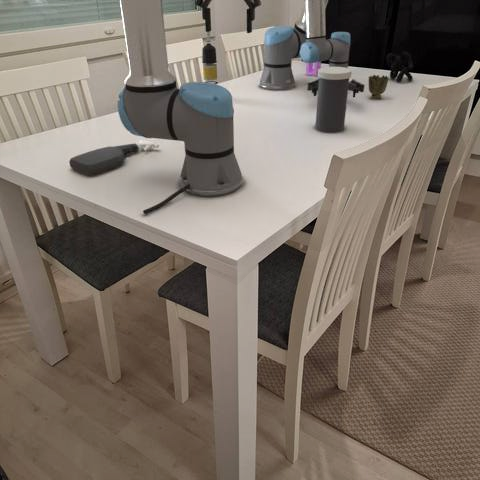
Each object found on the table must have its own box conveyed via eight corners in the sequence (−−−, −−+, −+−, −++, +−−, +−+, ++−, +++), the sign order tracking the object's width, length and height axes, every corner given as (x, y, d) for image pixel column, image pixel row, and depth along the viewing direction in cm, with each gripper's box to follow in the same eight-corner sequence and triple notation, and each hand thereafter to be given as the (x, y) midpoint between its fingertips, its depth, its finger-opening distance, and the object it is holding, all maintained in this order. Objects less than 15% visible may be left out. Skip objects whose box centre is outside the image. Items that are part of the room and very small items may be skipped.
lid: (321, 80, 132) (322, 74, 131) (314, 73, 141) (314, 67, 140) (355, 79, 132) (355, 73, 132) (346, 72, 141) (346, 66, 140)
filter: (220, 99, 177) (217, 15, 161) (206, 100, 176) (202, 16, 160) (215, 96, 182) (212, 14, 166) (202, 97, 180) (197, 14, 164)
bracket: (316, 75, 210) (317, 60, 207) (306, 74, 213) (306, 59, 209) (329, 71, 219) (330, 55, 215) (319, 69, 222) (320, 54, 218)
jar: (318, 133, 141) (323, 75, 132) (312, 124, 149) (316, 68, 139) (347, 132, 142) (353, 74, 132) (339, 123, 149) (345, 68, 140)
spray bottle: (67, 168, 120) (139, 144, 136) (91, 178, 114) (163, 151, 130) (65, 157, 118) (137, 134, 134) (89, 167, 112) (162, 142, 128)
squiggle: (400, 92, 202) (376, 71, 205) (417, 76, 202) (392, 56, 205) (405, 81, 191) (380, 59, 194) (423, 64, 191) (397, 42, 194)
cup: (363, 99, 174) (366, 77, 170) (368, 94, 179) (371, 73, 175) (383, 101, 171) (386, 79, 167) (387, 96, 176) (390, 75, 172)
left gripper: (272, -51, 127) (270, 31, 138) (192, -49, 134) (197, 29, 145) (264, -51, 121) (263, 34, 132) (181, -49, 128) (187, 32, 139)
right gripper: (368, 90, 173) (369, 104, 156) (304, 88, 178) (298, 102, 160) (371, 70, 169) (372, 82, 152) (305, 68, 174) (299, 80, 157)
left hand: (228, 32), depth 139 cm, fingers open, 13 cm apart
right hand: (334, 92), depth 156 cm, fingers open, 13 cm apart
